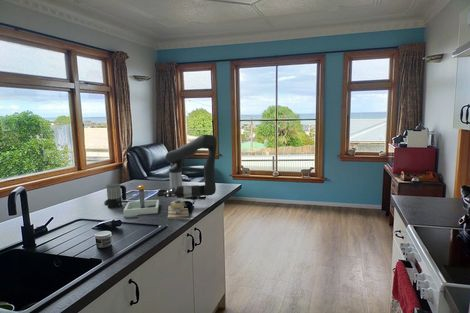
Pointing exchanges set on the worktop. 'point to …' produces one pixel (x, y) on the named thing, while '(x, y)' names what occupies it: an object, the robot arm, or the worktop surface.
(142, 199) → the lock pin
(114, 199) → the milk frother
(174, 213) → the pulley board
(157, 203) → the tray
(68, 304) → the worktop surface
